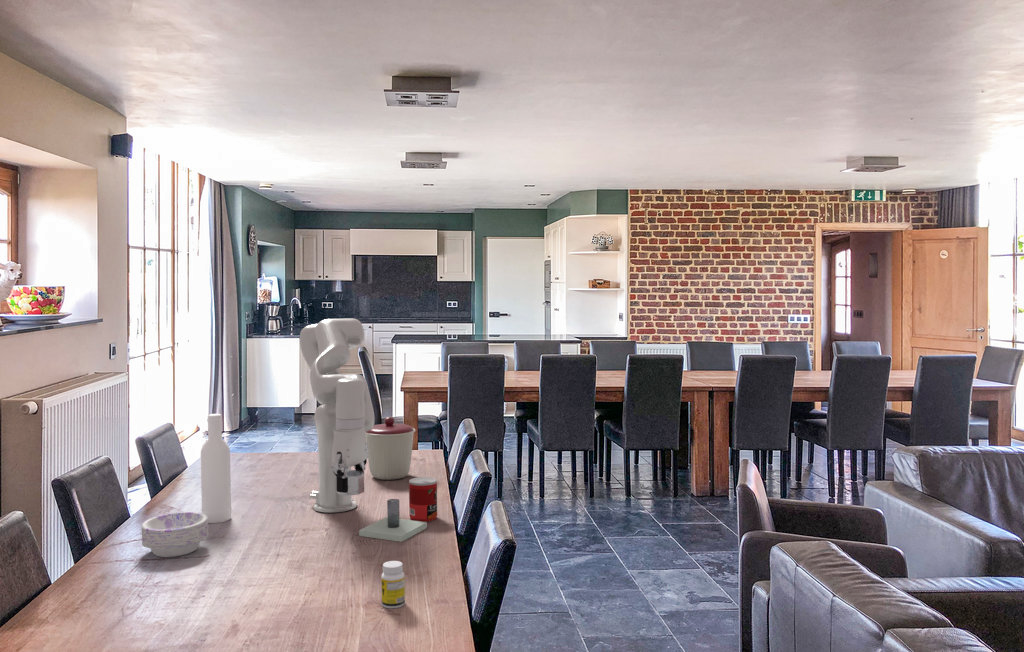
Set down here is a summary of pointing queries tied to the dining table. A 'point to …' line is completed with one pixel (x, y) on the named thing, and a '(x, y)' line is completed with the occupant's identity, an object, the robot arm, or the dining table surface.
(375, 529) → the green board
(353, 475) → the metal ring
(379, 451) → the canister
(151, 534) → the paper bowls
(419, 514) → the canned food
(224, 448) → the bottle
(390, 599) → the supplement bottle
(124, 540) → the dining table surface
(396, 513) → the steel post
